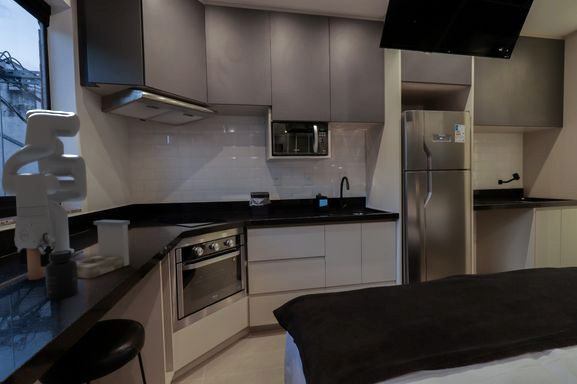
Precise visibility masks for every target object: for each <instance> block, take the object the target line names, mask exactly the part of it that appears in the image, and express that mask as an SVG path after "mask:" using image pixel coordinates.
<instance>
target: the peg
mask: <svg viewBox="0 0 577 384" xmlns="http://www.w3.org/2000/svg"><path fill="white" fill-rule="evenodd" d="M41 254H42V253H41V252H40V250H39V248H36V249H27V262H28V263H27V277H28V279H27V280H29V281H33V280H40V279H44V278H46V275H45V267H41V262H40V255H41Z"/></svg>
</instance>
